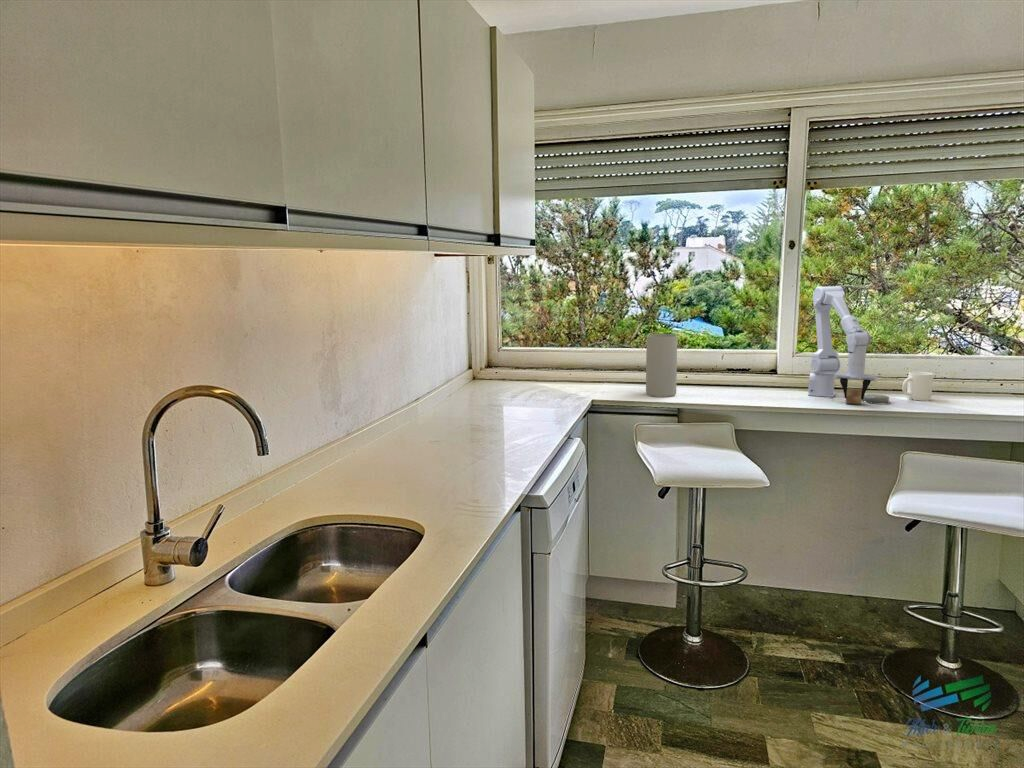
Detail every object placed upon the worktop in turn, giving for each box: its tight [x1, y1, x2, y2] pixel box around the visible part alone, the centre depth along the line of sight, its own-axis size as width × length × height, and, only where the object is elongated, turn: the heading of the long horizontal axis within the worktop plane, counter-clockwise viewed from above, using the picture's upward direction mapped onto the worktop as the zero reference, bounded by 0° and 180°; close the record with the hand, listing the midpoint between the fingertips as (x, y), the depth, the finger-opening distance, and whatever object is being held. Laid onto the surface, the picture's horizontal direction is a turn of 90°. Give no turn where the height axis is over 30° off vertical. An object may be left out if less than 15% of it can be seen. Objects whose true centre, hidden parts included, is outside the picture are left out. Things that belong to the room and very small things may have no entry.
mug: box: [901, 371, 934, 401], centre depth 264 cm, size 12×8×10 cm
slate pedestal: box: [862, 393, 890, 404], centre depth 262 cm, size 9×9×2 cm
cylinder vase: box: [645, 333, 678, 398], centre depth 283 cm, size 12×12×25 cm
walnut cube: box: [845, 387, 863, 405], centre depth 258 cm, size 5×5×5 cm
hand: (854, 398), depth 259 cm, fingers closed on walnut cube, 5 cm apart
